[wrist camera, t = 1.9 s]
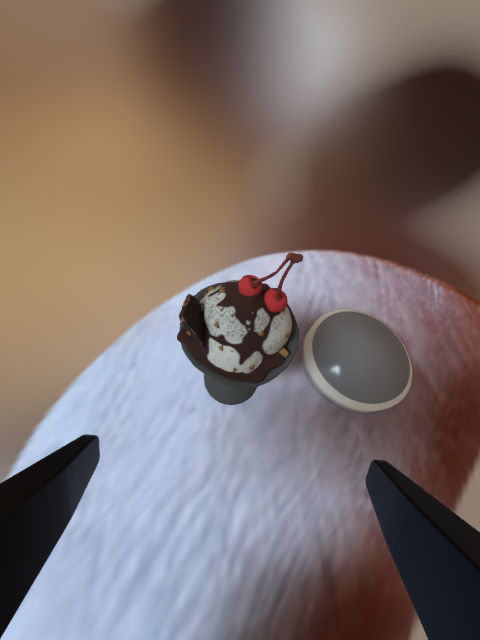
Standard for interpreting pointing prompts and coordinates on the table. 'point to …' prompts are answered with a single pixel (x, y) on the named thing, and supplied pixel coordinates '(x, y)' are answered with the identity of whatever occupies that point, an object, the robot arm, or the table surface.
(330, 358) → the round mirror
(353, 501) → the table surface
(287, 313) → the sundae
